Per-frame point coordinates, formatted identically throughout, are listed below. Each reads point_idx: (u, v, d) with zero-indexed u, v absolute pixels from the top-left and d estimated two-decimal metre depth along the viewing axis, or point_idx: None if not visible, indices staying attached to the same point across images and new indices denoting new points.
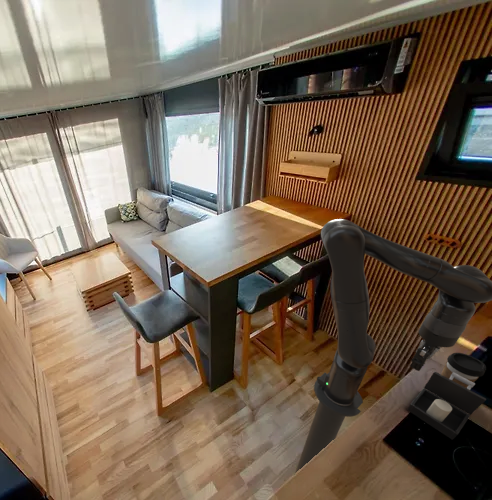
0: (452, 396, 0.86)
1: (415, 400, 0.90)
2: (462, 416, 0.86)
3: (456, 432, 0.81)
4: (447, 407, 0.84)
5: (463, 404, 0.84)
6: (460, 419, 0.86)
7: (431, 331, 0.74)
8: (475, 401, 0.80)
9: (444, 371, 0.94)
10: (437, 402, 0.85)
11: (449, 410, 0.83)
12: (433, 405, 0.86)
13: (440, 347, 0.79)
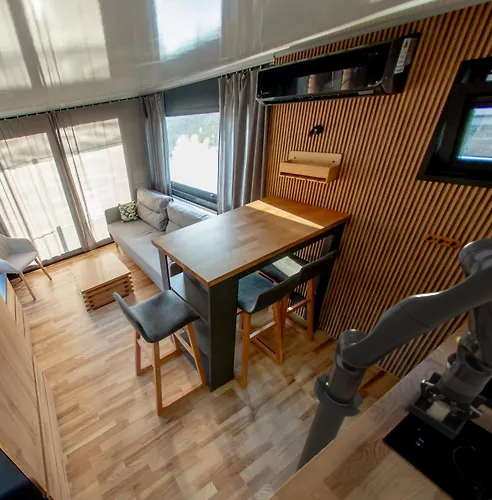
0: None
1: (415, 400, 0.90)
2: None
3: (456, 432, 0.81)
4: (447, 407, 0.84)
5: None
6: (460, 419, 0.86)
7: (476, 395, 0.75)
8: (475, 401, 0.80)
9: (444, 371, 0.94)
10: (437, 402, 0.85)
11: (449, 410, 0.83)
12: (433, 405, 0.86)
13: None
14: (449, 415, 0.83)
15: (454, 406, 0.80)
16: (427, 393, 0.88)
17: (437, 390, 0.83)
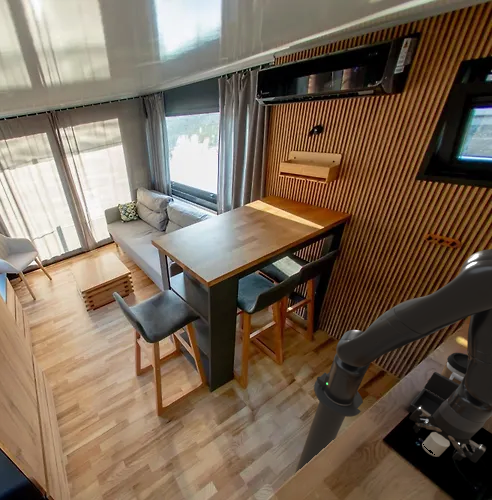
0: None
1: (415, 400, 0.90)
2: None
3: None
4: (444, 442, 0.77)
5: None
6: None
7: (476, 431, 0.68)
8: None
9: (444, 371, 0.94)
10: (433, 435, 0.79)
11: (446, 445, 0.76)
12: (429, 438, 0.79)
13: None
14: (457, 454, 0.74)
15: (452, 441, 0.74)
16: None
17: (433, 422, 0.77)
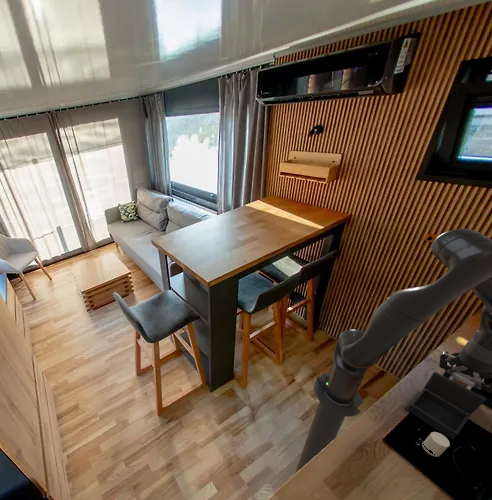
0: (452, 396, 0.86)
1: (415, 400, 0.90)
2: (462, 416, 0.86)
3: (456, 432, 0.81)
4: (444, 442, 0.77)
5: (463, 404, 0.84)
6: (460, 419, 0.86)
7: None
8: (475, 401, 0.80)
9: (444, 371, 0.94)
10: (433, 435, 0.79)
11: (446, 445, 0.76)
12: (429, 438, 0.79)
13: None
14: (474, 388, 0.81)
15: (477, 377, 0.79)
16: (445, 364, 0.87)
17: (459, 362, 0.82)
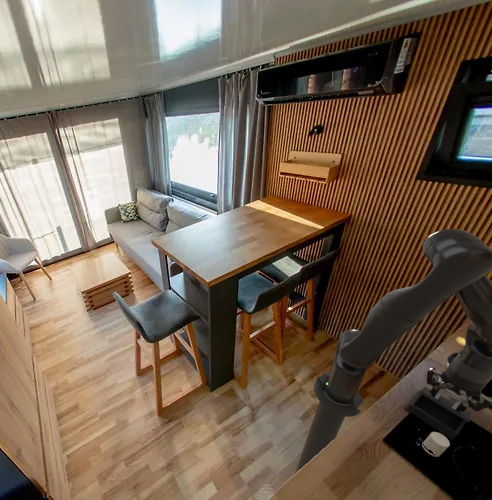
0: None
1: (415, 400, 0.90)
2: None
3: (456, 432, 0.81)
4: (444, 442, 0.77)
5: None
6: (460, 419, 0.86)
7: (486, 382, 0.72)
8: None
9: (444, 371, 0.94)
10: (433, 435, 0.79)
11: (446, 445, 0.76)
12: (429, 438, 0.79)
13: None
14: (461, 405, 0.80)
15: (463, 394, 0.78)
16: (433, 380, 0.85)
17: (445, 378, 0.81)
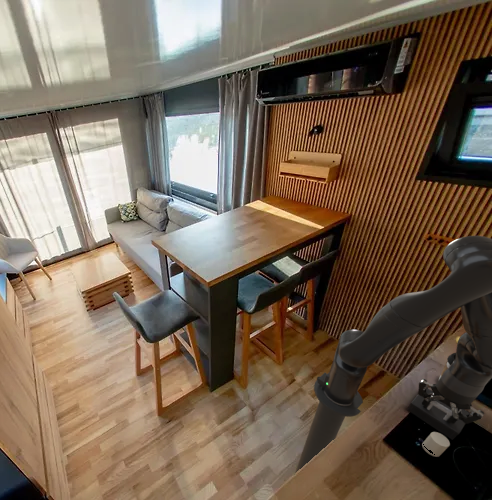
0: None
1: None
2: None
3: None
4: (444, 442, 0.77)
5: None
6: None
7: (476, 396, 0.73)
8: None
9: (444, 371, 0.94)
10: (433, 435, 0.79)
11: (446, 445, 0.76)
12: (429, 438, 0.79)
13: None
14: (451, 417, 0.81)
15: (454, 407, 0.78)
16: (424, 392, 0.86)
17: (436, 391, 0.81)
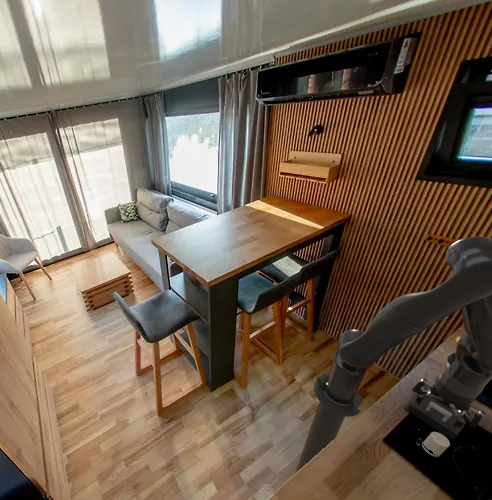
0: None
1: None
2: None
3: None
4: (444, 442, 0.77)
5: None
6: None
7: (475, 397, 0.73)
8: None
9: (444, 371, 0.94)
10: (433, 435, 0.79)
11: (446, 445, 0.76)
12: (429, 438, 0.79)
13: None
14: (458, 421, 0.79)
15: (452, 408, 0.78)
16: None
17: (435, 392, 0.82)
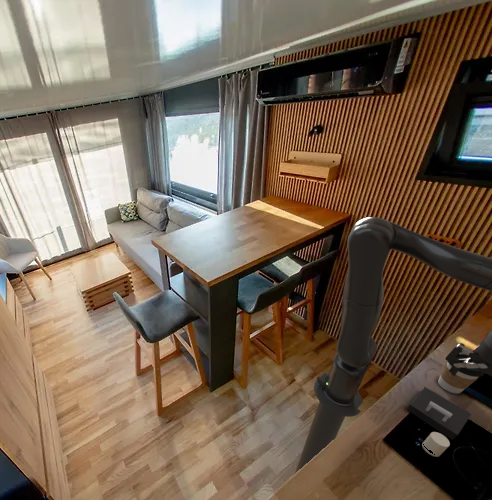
0: None
1: None
2: None
3: None
4: (444, 442, 0.77)
5: None
6: None
7: None
8: None
9: (444, 371, 0.94)
10: (433, 435, 0.79)
11: (446, 445, 0.76)
12: (429, 438, 0.79)
13: None
14: None
15: None
16: None
17: (476, 358, 0.66)
